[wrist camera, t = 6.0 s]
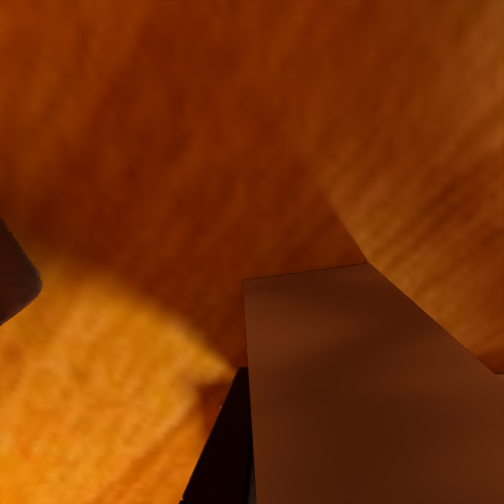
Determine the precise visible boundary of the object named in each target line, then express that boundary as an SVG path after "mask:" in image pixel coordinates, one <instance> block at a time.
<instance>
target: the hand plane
mask: <svg viewBox="0 0 504 504" xmlns="http://www.w3.org/2000/svg"><path fill="white" fill-rule="evenodd" d="M39 278H40V272H39V271H38V269H37V268H36V267H35V266H34V265H33V263H32V262H31V261H30V260H29V258H28V257H27V255H26V254H25V252H24V251H23V249H22V247H21V246H20V245H19V243H18V242H17V240H16V239H15V238H14V237H13V236H12V233H11V232H9V231H8V228H7V226H6V224H5V223H4V221H3V220H2V219H1V218H0V326H1V325H2V324H4V323H5V322H6V321H8V320H9V319H10V318H12V317H13V316H14V315H16V314H17V313H18V312H20V311H21V310H22V309H24V308H25V307H26V306H28V305H29V304H30V303H31V302H32V301H33V300H34V299H35V298H36V297H37V296H38V295H39V293H40V292H41V289H42V282H41V281H40V280H38V279H39Z"/></svg>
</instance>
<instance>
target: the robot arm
mask: <svg viewBox="0 0 504 504" xmlns="http://www.w3.org/2000/svg"><path fill="white" fill-rule="evenodd" d="M182 499H183V500H180V502H179V504H257V494H256V479H255V463H254V448H253V433H252V417H251V402H250V387H249V371H248V366H246V367H240V368H239V369H238V370H237V372H236V375H235V377H234V379H233V381H232V384H231V386H230V388H229V391H228V393H227V395H226V397H225V400H224V402H223V404H222V407H221V409H220V411H219V413H218V416H217V418H216V420H215V422H214V425H213V427H212V429H211V432H210V434H209V436H208V438H207V441H206V443H205V445H204V447H203V450H202V452H201V454H200V457H199V459H198V461H197V463H196V466H195V468H194V470H193V473H192V475H191V477H190V479H189V482H188V484H187V486H186V488H185V491H184V493H183V495H182Z"/></svg>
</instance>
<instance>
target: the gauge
mask: <svg viewBox="0 0 504 504" xmlns="http://www.w3.org/2000/svg"><path fill="white" fill-rule="evenodd" d="M243 295H244V310H245V325H246V341H247V356H248V371H249V387H250V402H251V417H252V433H253V448H254V463H255V479H256V494H257V504H504V382H503V381H502V380H501V379H500V378H499V377H498V376H496V375H495V374H494V373H493V372H492V371H491V370H490V369H489V368H487V367H486V366H485V365H484V364H483V363H482V362H481V361H479V360H478V359H477V358H476V357H475V356H474V355H473V354H472V353H470V352H469V351H468V350H467V349H466V348H465V347H464V346H463V345H461V344H460V343H459V342H458V341H457V340H456V339H455V338H453V337H452V336H451V335H450V334H449V333H448V332H447V331H446V330H444V329H443V328H442V327H441V326H440V325H439V324H438V323H437V322H435V321H434V320H433V319H432V318H431V317H430V316H429V315H428V314H426V313H425V312H424V311H423V310H422V309H421V308H420V307H418V306H417V305H416V304H415V303H414V302H413V301H412V300H411V299H409V298H408V297H407V296H406V295H405V294H404V293H403V292H402V291H400V290H399V289H398V288H397V287H396V286H395V285H394V284H392V283H391V282H390V281H389V280H388V279H387V278H386V277H385V276H383V275H382V274H381V273H380V272H379V271H378V270H377V269H376V268H374V267H373V266H372V265H371V264H370V263H368V264H361V265H354V266H346V267H339V268H332V269H325V270H317V271H310V272H303V273H295V274H288V275H281V276H273V277H266V278H259V279H251V280H244V281H243Z"/></svg>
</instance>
